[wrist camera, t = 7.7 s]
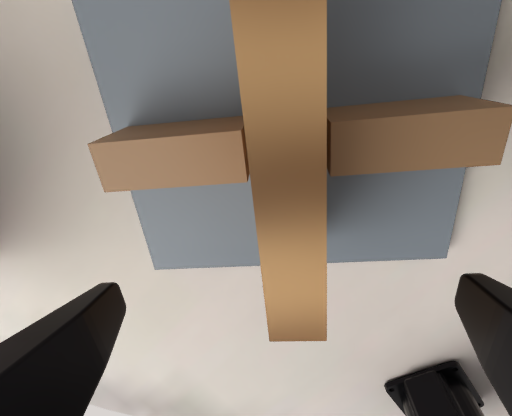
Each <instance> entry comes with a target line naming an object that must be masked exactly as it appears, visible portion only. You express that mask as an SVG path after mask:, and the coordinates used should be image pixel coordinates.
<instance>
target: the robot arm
mask: <svg viewBox="0 0 512 416" xmlns="http://www.w3.org/2000/svg"><path fill="white" fill-rule="evenodd" d="M455 307H456V310H457V312H458V314H459V317H460V319H461V321H462V323H463V326H464V328H465V330H466V332H467V334H468V337H469V339H470V341H471V343H472V346H473V348H474V350H475V352H476V355H477V357H478V359H479V361H480V363H481V365H482V367H483V369H484V371H485V373H486V375H487V377H488V379H489V380H490V382H491V384H492V386H493V387H494V389H495V391H496V393H497V394H498V396H499V398H500V400H501V401H502V403H503V405H504V407H505V408H506V410H507V412H508V414H509V415H510V416H512V288H510V287H508V286H506V285H504V284H502V283H500V282H498V281H496V280H494V279H492V278H490V277H488V276H486V275H484V274H481V273H469V274H463V275H462V276H461V277H460V280H459V284H458V288H457V292H456V296H455ZM125 313H126V304H125V301H124V298H123V295H122V293H121V290H120V287H119V285H118V284H117V283H114V282H109V283H100V284H98V285H97V286H95V287H93V288H92V289H90V290H88V291H87V292H85V293H83V294H82V295H80V296H78V297H77V298H75V299H73V300H72V301H70V302H68V303H67V304H65V305H63V306H62V307H60V308H58V309H57V310H55V311H53V312H52V313H50V314H48V315H47V316H45V317H43V318H41V319H40V320H38V321H36V322H35V323H33V324H31V325H30V326H28V327H26V328H25V329H23V330H21V331H20V332H18V333H16V334H15V335H13V336H11V337H10V338H8V339H6V340H5V341H3V342H1V343H0V416H83V415H84V413H85V411H86V409H87V407H88V405H89V403H90V401H91V398H92V396H93V394H94V392H95V390H96V388H97V386H98V383H99V381H100V379H101V377H102V375H103V373H104V370H105V368H106V366H107V363H108V361H109V358H110V355H111V352H112V350H113V347H114V344H115V341H116V338H117V336H118V333H119V330H120V327H121V324H122V322H123V319H124V316H125ZM385 389H386V392H387V393H388V394H389V396H390V397H391V398H392V399H393V401H394V402H395V403H396V404H397V405H398V407H399V408H400V409H401V410H402V412H403V413H404V414H405V415H406V416H484V414H483V413H482V411H481V409H480V408H481V407H483V406H484V403H483V401H482V399H481V398H480V396H479V395H478V393H477V391H476V390H475V388H474V387H473V385H472V384H471V382H470V380H469V379H468V377H467V376H466V374H465V372H464V371H463V369H462V368H461V366H460V365H459V363H458V362H456V361H451V362H448V363H445V364H442V365H439V366H436V367H433V368H430V369H427V370H424V371H421V372H418V373H415V374H412V375H409V376H406V377H403V378H400V379H397V380H394V381H391V382H388V383H386V384H385Z"/></svg>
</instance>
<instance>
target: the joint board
mask: <svg viewBox="0 0 512 416" xmlns="http://www.w3.org/2000/svg"><path fill="white" fill-rule="evenodd" d="M501 1H502V0H327V263H339V262H364V261H390V260H416V259H441V258H447V253H448V249H449V244H450V239H451V235H452V230H453V225H454V221H455V216H456V211H457V207H458V202H459V197H460V193H461V188H462V183H463V179H464V174H465V169H466V167H474V166H489V165H500V164H501V161H502V157H503V153H504V149H505V146H506V142H507V138H508V134H509V131H510V127H511V123H512V105H509V104H504V103H499V102H494V101H488V100H483V99H481V95H482V90H483V85H484V81H485V76H486V71H487V67H488V62H489V57H490V53H491V48H492V43H493V39H494V34H495V29H496V25H497V20H498V15H499V11H500V6H501ZM72 3H73V6H74V10H75V13H76V16H77V19H78V22H79V26H80V29H81V32H82V35H83V39H84V42H85V45H86V48H87V52H88V55H89V58H90V61H91V64H92V68H93V71H94V74H95V77H96V81H97V84H98V87H99V90H100V94H101V97H102V100H103V103H104V107H105V110H106V113H107V116H108V119H109V123H110V126H111V129H112V132H113V133H112V134H110V135H107V136H105V137H103V138H100V139H98V140H96V141H94V142H91V143H89V144H88V147H89V150H90V152H91V155H92V158H93V161H94V164H95V167H96V169H97V172H98V175H99V178H100V181H101V184H102V187H103V189H104V192H116V191H131V194H132V197H133V200H134V203H135V207H136V210H137V213H138V216H139V220H140V223H141V226H142V229H143V233H144V236H145V239H146V242H147V245H148V249H149V252H150V255H151V258H152V262H153V265H154V268H155V270H159V269H184V268H210V267H236V266H261V265H260V256H259V248H258V240H257V231H256V223H255V214H254V206H253V197H252V189H251V180H250V172H249V163H248V155H247V147H246V138H245V130H244V121H243V113H242V104H241V96H240V87H239V79H238V70H237V62H236V54H235V45H234V37H233V28H232V20H231V11H230V3H229V0H72Z"/></svg>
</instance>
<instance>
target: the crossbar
mask: <svg viewBox="0 0 512 416" xmlns="http://www.w3.org/2000/svg"><path fill="white" fill-rule="evenodd" d="M229 3H230V11H231V20H232V28H233V37H234V45H235V54H236V62H237V70H238V79H239V87H240V96H241V104H242V113H243V121H244V130H245V138H246V147H247V155H248V163H249V172H250V180H251V189H252V197H253V206H254V214H255V223H256V231H257V240H258V248H259V256H260V265H261V273H262V282H263V290H264V299H265V307H266V316H267V324H268V332H269V341H327V0H229Z"/></svg>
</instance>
